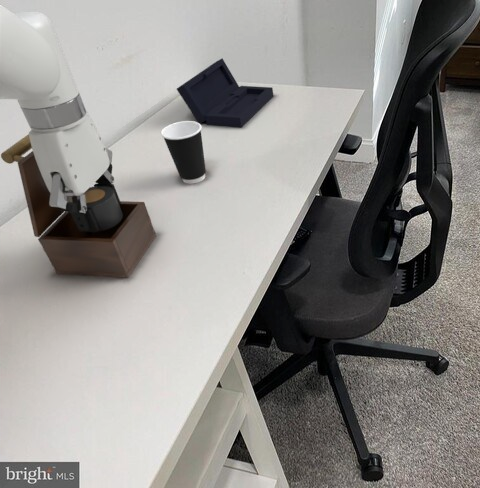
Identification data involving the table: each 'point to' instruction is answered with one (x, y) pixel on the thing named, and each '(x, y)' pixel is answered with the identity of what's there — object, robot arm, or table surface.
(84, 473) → the table surface
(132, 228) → the chest
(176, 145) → the dixie cup
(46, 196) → the lid
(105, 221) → the tape
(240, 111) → the storage box
